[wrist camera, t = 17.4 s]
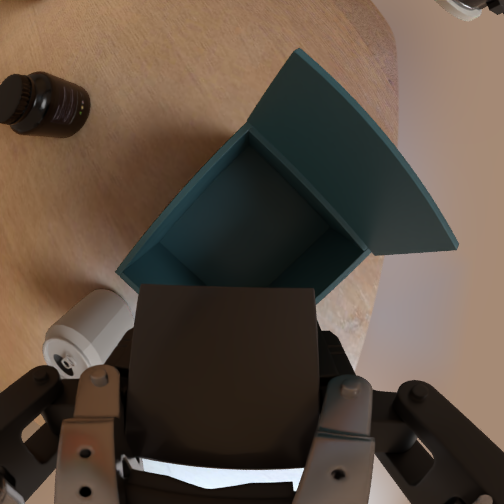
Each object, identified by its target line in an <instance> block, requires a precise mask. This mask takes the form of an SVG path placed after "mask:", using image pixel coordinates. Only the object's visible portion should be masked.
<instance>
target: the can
mask: <svg viewBox="0 0 504 504" xmlns="http://www.w3.org/2000/svg"><path fill="white" fill-rule="evenodd" d="M132 327H134V318H133V315H132V312H131V310H130V308H129V306H128V305H127V303H126V302H125V301H124V300H123V299H122V298H121V297H120V296H119V295H117V294H115V293H114V292H112V291H109V290H105V289H98V290H94V291H92V292H91V293H89V294H88V295H87V296H86V297H84V298H83V299H82V300H81V301H80V302H78V303H77V304H76V305H75V306H74V307H73V308H71V309H70V310H69V311H68V312H67V313H66V314H65V315H63V316H62V317H61V318H60V319H59V320H58V321H57V322H55V323H54V324H53V325H52V326H51V327H50V328H49V329H48V331H47V333H46V336H45V342H44V344H43V350H42V351H43V355H44V359H45V361H46V363H47V365H49V366H52V367H55V368H56V369H57V370H58V372H59V375H60V377H61V379H79V378H80V375H81V374H82V373H83V371H85V370H86V369H87V368H89V367H91V366H95V365H101V364H104V363H105V361H106V360H107V359H108V357H109V356H110V354H111V353H112V351H113V350H114V348H115V347H116V346H117V344H118V343H119V341H120V340H122V337H123V336H124V334H125V333H126V332H127V331H128V330H129V329H131V328H132Z"/></svg>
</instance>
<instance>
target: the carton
mask: <svg viewBox="0 0 504 504" xmlns="http://www.w3.org/2000/svg"><path fill="white" fill-rule="evenodd" d="M370 253H371V251H370V249H369V248H368V247H367V246H366V245H365V243H364V242H363V241H362V240H361V239H360V238H359V236H358V235H357V234H356V233H355V232H354V230H353V229H352V228H351V227H350V226H349V225H348V224H347V222H346V221H345V220H344V219H343V218H342V217H341V216H340V215H339V213H338V212H337V211H336V210H335V209H334V208H333V207H332V206H331V205H330V203H329V202H328V201H327V200H326V199H325V198H324V197H323V196H322V195H321V194H320V193H319V192H318V191H317V189H316V188H315V187H314V186H313V185H312V184H311V183H310V182H309V181H308V180H307V179H306V178H305V177H304V176H303V175H302V174H301V173H300V172H299V171H298V170H297V169H296V168H295V167H294V166H293V165H292V164H291V163H290V162H289V161H288V160H287V159H286V158H285V157H284V156H283V155H282V154H281V153H280V152H279V151H278V150H277V149H276V148H275V147H274V146H273V145H272V144H271V143H270V142H269V141H268V140H267V139H266V138H265V137H264V136H262V135H261V134H260V133H259V132H258V131H257V130H256V129H255V128H254V127H253V126H252V125H251V124H250V123H248V122H246V123H245V124H244V125H243V126H242V127H241V128H240V129H239V130H238V131H237V132H236V133H235V134H234V135H233V136H232V137H231V138H230V139H229V140H228V141H227V142H226V143H225V144H224V145H223V146H222V147H221V148H220V149H219V150H218V151H217V152H216V153H215V154H214V155H213V156H212V157H211V158H210V159H209V160H208V162H207V163H206V164H205V165H204V166H203V167H202V168H201V169H200V170H199V171H198V172H197V173H196V174H195V175H194V177H193V178H192V179H191V180H190V181H189V182H188V183H187V184H186V185H185V187H184V188H183V189H182V190H181V191H180V192H179V193H178V194H177V196H176V197H175V198H174V199H173V200H172V201H171V202H170V204H169V205H168V206H167V207H166V208H165V209H164V211H163V212H162V213H161V214H160V215H159V217H158V218H157V219H156V220H155V221H154V223H153V224H152V225H151V226H150V227H149V229H148V230H147V231H146V232H145V234H144V235H143V236H142V237H141V239H140V240H139V241H138V242H137V244H136V245H135V246H134V247H133V249H132V250H131V251H130V253H129V254H128V255H127V256H126V258H125V259H124V260H123V262H122V263H121V264H120V266H119V267H118V268H117V270H116V271H115V273H117V274H118V275H119V276H120V277H121V278H122V279H123V280H124V281H125V282H126V283H127V284H128V285H129V286H130V287H131V288H132V289H133V290H135V291H136V292H137V293H138V294H139V290H140V285H141V284H160V285H185V286H216V287H272V288H314V290H315V302H316V305H317V304H318V303H319V302H320V301H321V300H322V299H323V298H324V297H325V296H326V295H327V294H329V293H330V292H331V291H332V290H333V289H334V288H335V287H336V286H337V285H338V284H339V283H340V282H341V281H342V280H344V279H345V278H346V277H347V276H348V275H349V274H350V273H351V272H352V271H353V270H354V269H355V268H356V267H357V266H358V265H359V264H360V263H361V262H362V261H363V260H364V259H365V258H366V257H367V256H368V255H369V254H370Z"/></svg>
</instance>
